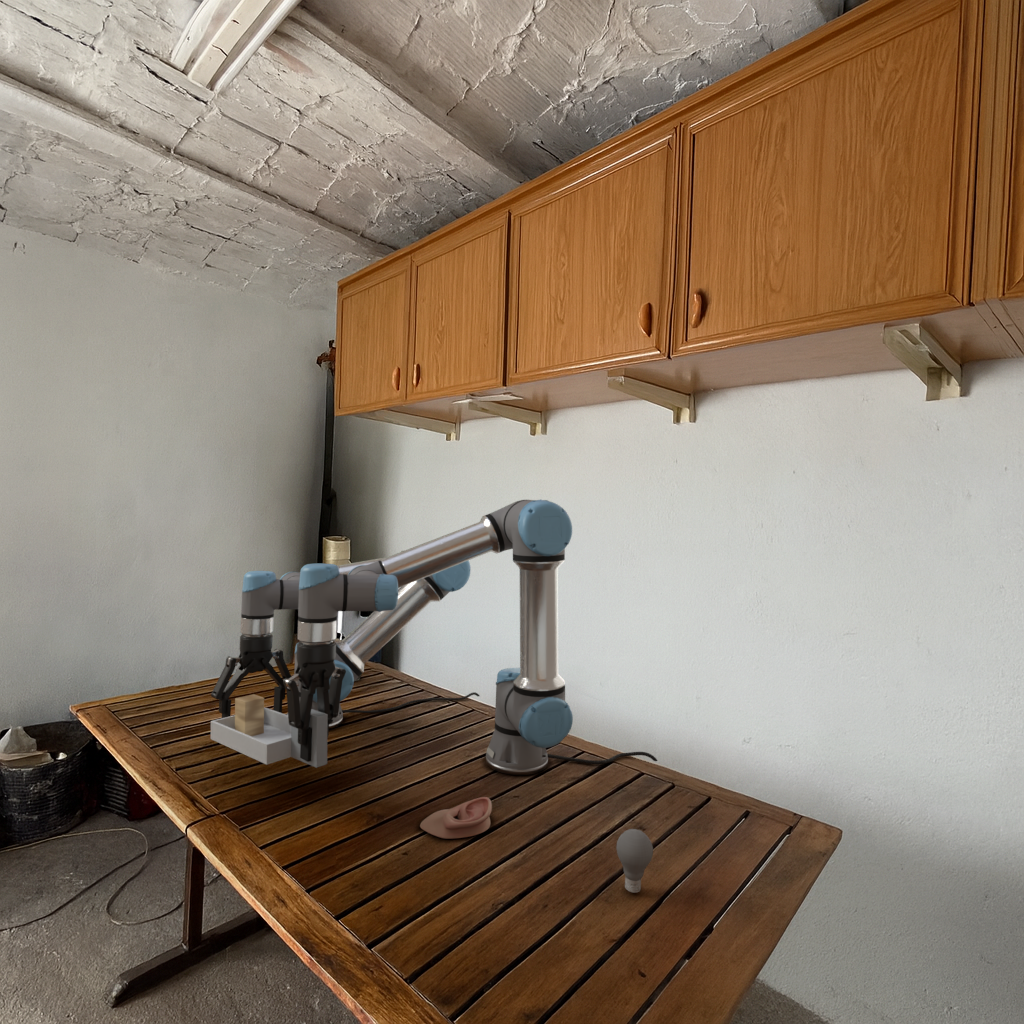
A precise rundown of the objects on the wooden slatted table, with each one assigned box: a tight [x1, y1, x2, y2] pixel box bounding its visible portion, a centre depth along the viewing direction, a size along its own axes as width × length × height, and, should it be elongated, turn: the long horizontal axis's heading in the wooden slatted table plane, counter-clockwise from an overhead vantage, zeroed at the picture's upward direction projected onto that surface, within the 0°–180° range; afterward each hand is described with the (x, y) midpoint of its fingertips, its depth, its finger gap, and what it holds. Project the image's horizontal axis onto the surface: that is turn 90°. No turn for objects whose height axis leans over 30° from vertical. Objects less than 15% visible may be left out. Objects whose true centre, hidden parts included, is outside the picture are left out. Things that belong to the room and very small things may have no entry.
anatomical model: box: [419, 796, 493, 840], centre depth 124 cm, size 13×4×12 cm
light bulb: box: [615, 828, 654, 894], centre depth 106 cm, size 6×6×10 cm
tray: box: [210, 707, 328, 769], centre depth 136 cm, size 32×13×10 cm, turn 51°
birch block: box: [234, 693, 265, 736], centre depth 143 cm, size 4×4×8 cm
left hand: (252, 719), depth 157 cm, fingers open, 13 cm apart
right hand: (312, 756), depth 128 cm, fingers closed on tray, 2 cm apart
